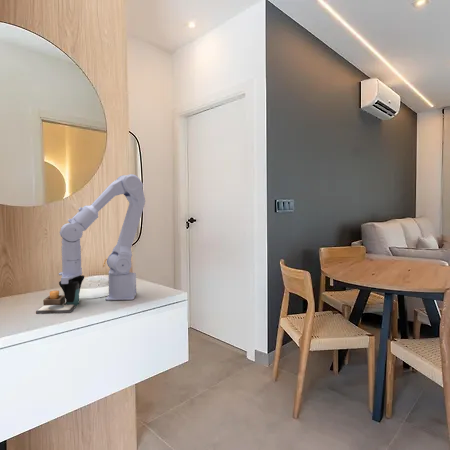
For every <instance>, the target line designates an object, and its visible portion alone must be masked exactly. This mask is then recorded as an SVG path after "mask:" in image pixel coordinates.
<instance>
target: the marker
mask: <svg viewBox="0 0 450 450" xmlns="http://www.w3.org/2000/svg"><path fill="white" fill-rule="evenodd" d="M65 305H75V306H76V307H77V306H79V305H80V293H79V283H78V284H77V287H76V292H75V299H74V302H67V301H66V300H65Z"/></svg>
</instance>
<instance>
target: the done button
mask: <svg viewBox="0 0 450 450" xmlns="http://www.w3.org/2000/svg"><path fill="white" fill-rule="evenodd" d="M59 295H60V291H59V290H51V291H49V296H50V299H59Z"/></svg>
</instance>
